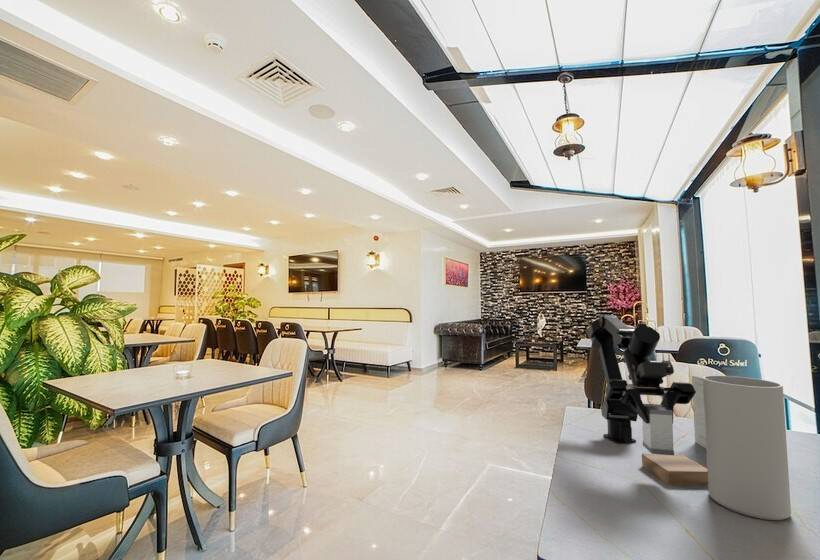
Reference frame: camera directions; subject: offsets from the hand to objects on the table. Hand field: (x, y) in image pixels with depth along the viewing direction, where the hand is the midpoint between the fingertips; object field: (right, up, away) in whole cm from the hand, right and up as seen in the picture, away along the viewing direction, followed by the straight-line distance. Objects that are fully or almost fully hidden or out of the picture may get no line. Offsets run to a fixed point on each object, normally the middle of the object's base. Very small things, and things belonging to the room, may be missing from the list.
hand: (659, 423), depth 87 cm
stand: (+6, -14, +3) cm, 15 cm away
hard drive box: (+30, -15, +17) cm, 37 cm away
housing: (0, -7, +1) cm, 7 cm away
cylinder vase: (+11, -13, -11) cm, 20 cm away
